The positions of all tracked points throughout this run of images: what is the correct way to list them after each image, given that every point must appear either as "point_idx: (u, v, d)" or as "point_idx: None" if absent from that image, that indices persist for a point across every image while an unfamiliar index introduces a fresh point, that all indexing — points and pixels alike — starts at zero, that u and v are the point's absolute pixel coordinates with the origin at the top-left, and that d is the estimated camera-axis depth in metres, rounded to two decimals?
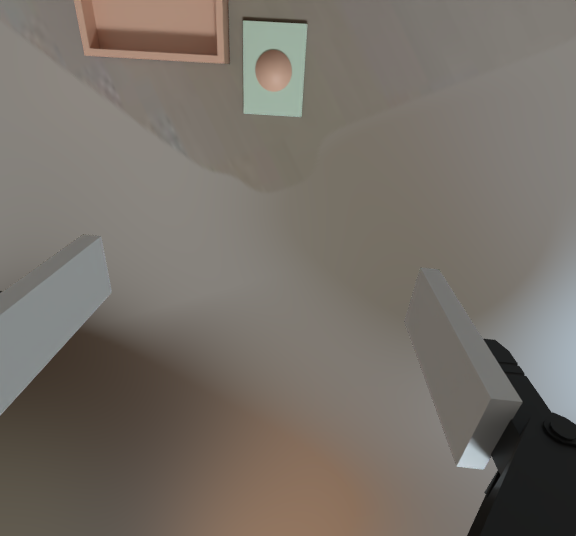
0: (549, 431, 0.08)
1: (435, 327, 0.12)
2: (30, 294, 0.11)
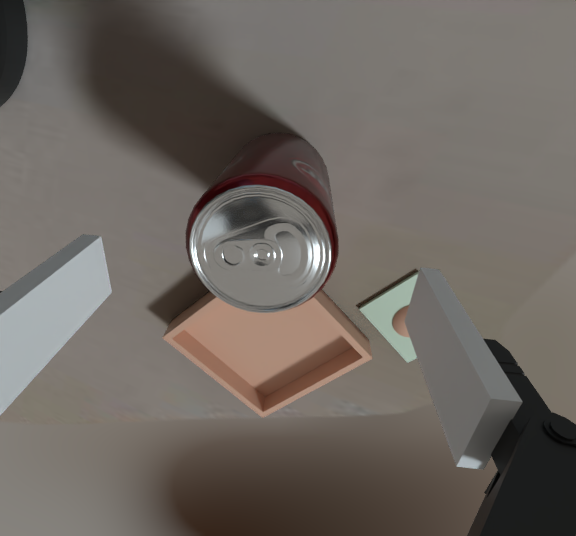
0: (549, 431, 0.08)
1: (435, 327, 0.12)
2: (30, 294, 0.11)
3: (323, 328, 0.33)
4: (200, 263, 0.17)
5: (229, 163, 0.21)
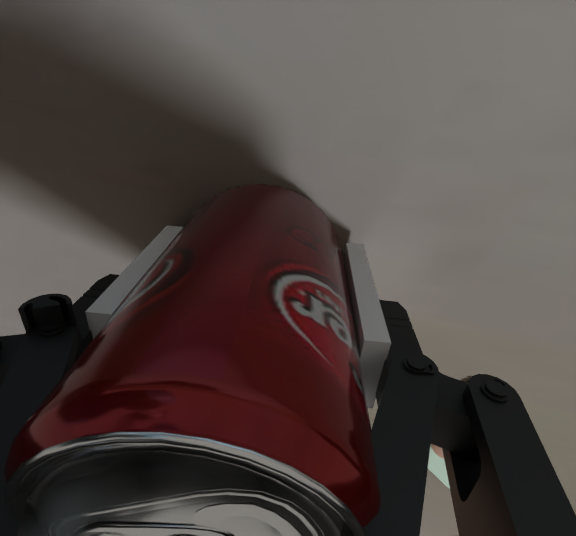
0: (407, 366, 0.09)
1: None
2: (144, 275, 0.12)
3: None
4: None
5: (159, 259, 0.11)
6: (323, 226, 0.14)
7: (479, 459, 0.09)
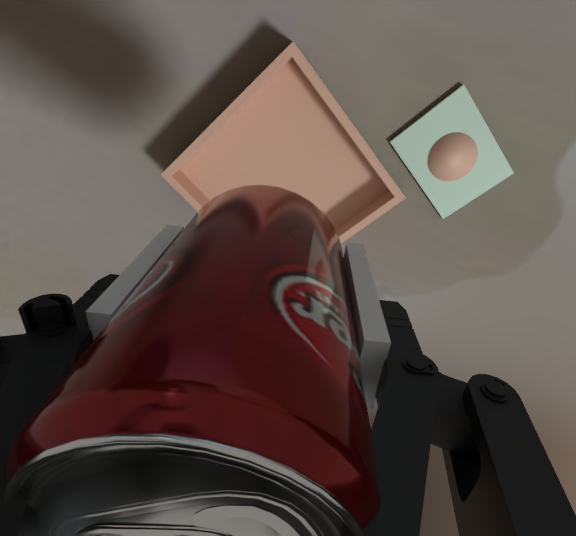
0: (407, 366, 0.09)
1: None
2: (144, 275, 0.12)
3: (347, 169, 0.28)
4: None
5: (159, 260, 0.11)
6: (323, 227, 0.14)
7: (479, 459, 0.09)
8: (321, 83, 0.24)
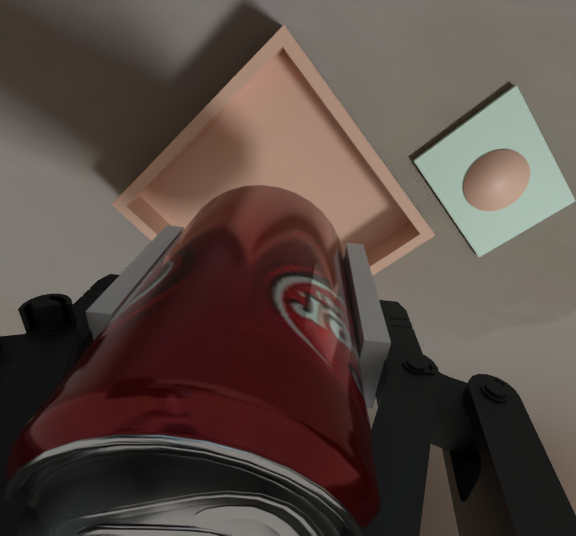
0: (407, 366, 0.09)
1: None
2: (144, 275, 0.12)
3: (357, 196, 0.22)
4: None
5: (159, 260, 0.11)
6: (323, 227, 0.14)
7: (479, 459, 0.09)
8: (323, 84, 0.17)
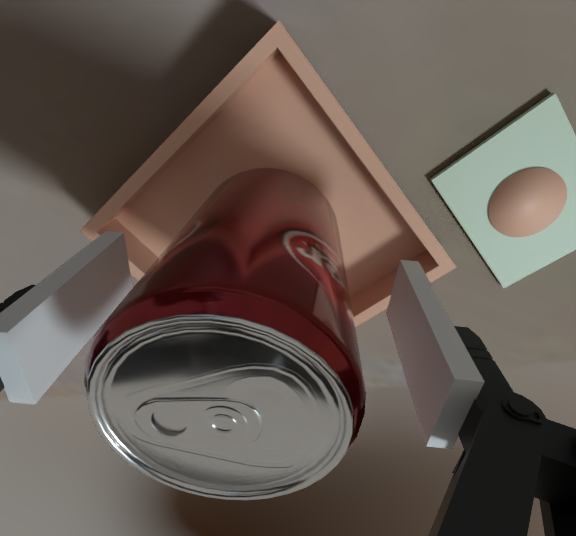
0: (507, 409, 0.08)
1: (411, 316, 0.13)
2: (63, 287, 0.11)
3: (365, 220, 0.19)
4: (113, 429, 0.09)
5: (186, 224, 0.13)
6: (321, 202, 0.16)
7: None
8: (327, 92, 0.14)
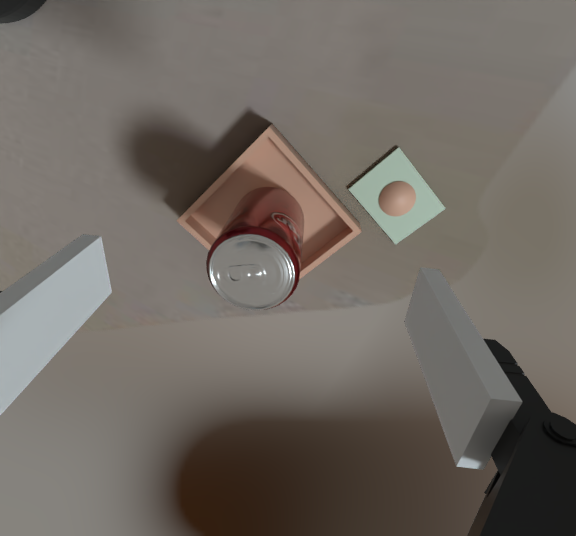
0: (549, 431, 0.08)
1: (435, 327, 0.12)
2: (30, 294, 0.11)
3: (317, 210, 0.37)
4: (215, 280, 0.28)
5: (232, 213, 0.32)
6: (292, 202, 0.34)
7: None
8: (291, 153, 0.32)
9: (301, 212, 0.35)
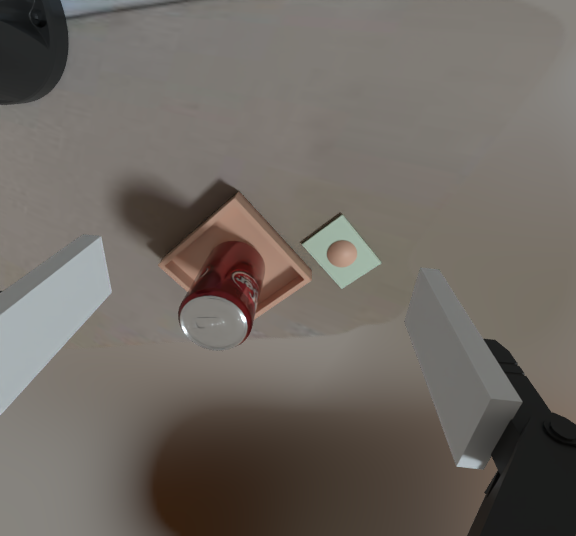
0: (549, 431, 0.08)
1: (435, 327, 0.12)
2: (30, 294, 0.11)
3: (276, 260, 0.44)
4: (185, 327, 0.35)
5: (203, 267, 0.39)
6: (253, 256, 0.41)
7: None
8: (253, 219, 0.40)
9: (261, 263, 0.42)
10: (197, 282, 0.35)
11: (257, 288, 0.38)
